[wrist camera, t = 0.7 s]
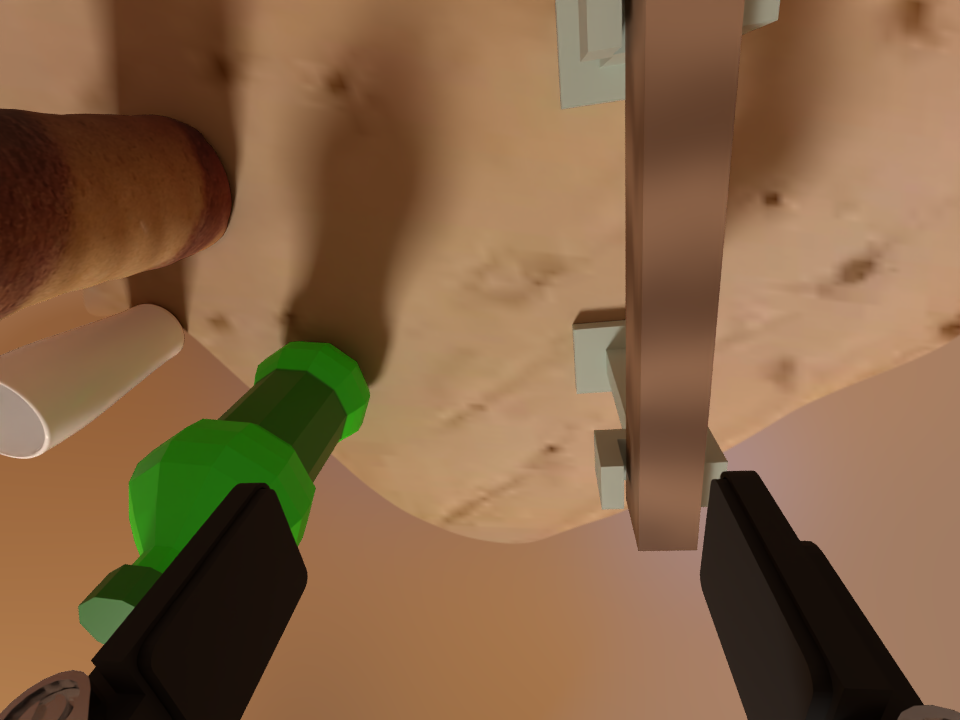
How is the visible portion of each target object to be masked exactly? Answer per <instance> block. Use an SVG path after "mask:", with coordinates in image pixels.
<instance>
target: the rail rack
mask: <svg viewBox="0 0 960 720" xmlns="http://www.w3.org/2000/svg"><path fill="white" fill-rule="evenodd" d="M779 6H780V0H745V3H744V15H743V26H742V35H743V34H746V33H748V32H750V31H753V30H755V29H758V28H760V27H762V26H765V25H767V24H770V23H772V22H774V21H777V20H778V15H779ZM555 9H556V27H557V46H558V64H559V83H560V101H561V109H567V108H574V107H580V106H587V105H594V104H600V103H607V102H613V101H620V100H625V0H556V2H555ZM573 342H574V361H575V379H576V391H577V394H581V393H597V392H612V394H613V397H614V401H615V405H616V408H617V412H618V415H619V419H620V422H621V426H622V429H613V430H594V446H595V471H596V477H597V483H598V488H599V494H600V500H601V506H602V509H624V480H626V320H618V321H606V322H595V323H583V324H573ZM727 466H728V461H727V460H726V458H725V456H724V454H723V453H722V451H721V449H720V447H719V445H718V444H717V442H716V440H715V438H714V437H713V435H712V433H711V431H710V429H709V428H708V429H707V441H706V452H705V464H704V475H703V487H702V498H701V507H708V501H709V493H710V484H711V481H712V479H720V475H721V473H722V472H724V471H727Z"/></svg>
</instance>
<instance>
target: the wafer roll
mask: <svg viewBox="0 0 960 720" xmlns="http://www.w3.org/2000/svg"><path fill="white" fill-rule="evenodd" d="M231 207H232V200H231V192H230V186H229V182H228V179H227V175H226V173H225V170H224V168H223V166H222V164H221V162H220V159H219V157H218V156H217V154H216V152H215V151H214V149H213V148H212V146H211V145H209V144H208V143H207V142H206V141H205V139H204V137H203V135H202V134H201V133H200V132H199V131H197V130H196V129H194V128H193V127H191V126H189V125H187V124H184V123H182V122H179V121H177V120H174V119H172V118H168V117H164V116H158V115H134V116H128V115H112V114H66V115H57V114H46V113H38V112H32V111H25V110H17V109H0V320H2V319H5V318H7V317H9V316H11V315H12V314H14V313H16V312H18V311H19V310H21V309H23V308H26V307H28V306H31V305H34V304H37V303H40V302H43V301H46V300H49V299H51V298H54V297H56V296H59V295H61V294H64V293H67V292H71V291H75V290H80V289H85V288H88V287H92V286H95V285H97V284H100V283H102V282H105V281H109V280H115V279H120V278H125V277H128V276H131V275H134V274H137V273H140V272H144V271H148V270H153V269H157V268H162V267H165V266H168V265H170V264H173V263H175V262H176V261H178V260H181V259H183V258H186V257H188V256H191V255H193V254H195V253H197V252H199V251H201V250H204V249H206V248H208V247H210V246H211V245H213V244H214V243H215V242H217V241H218V240H219V239H220V238H221V237H222V236H223V235H224V233H225V231H226V229H227V225H228V219H229V216H230V213H231Z"/></svg>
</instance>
